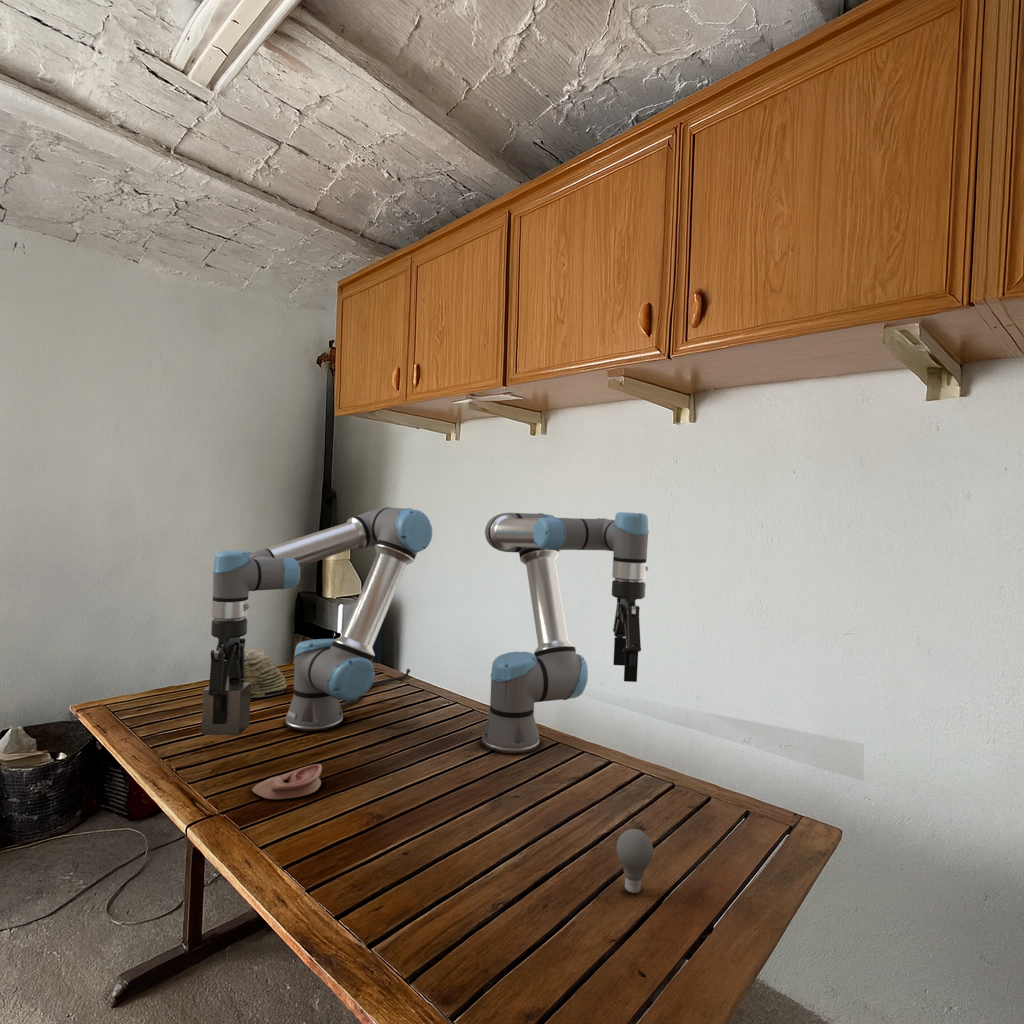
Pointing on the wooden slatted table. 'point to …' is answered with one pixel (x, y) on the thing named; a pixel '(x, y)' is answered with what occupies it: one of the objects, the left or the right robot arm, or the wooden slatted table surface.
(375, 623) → the left robot arm
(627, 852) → the light bulb
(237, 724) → the block
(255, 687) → the fossil
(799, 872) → the wooden slatted table surface
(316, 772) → the anatomical model
